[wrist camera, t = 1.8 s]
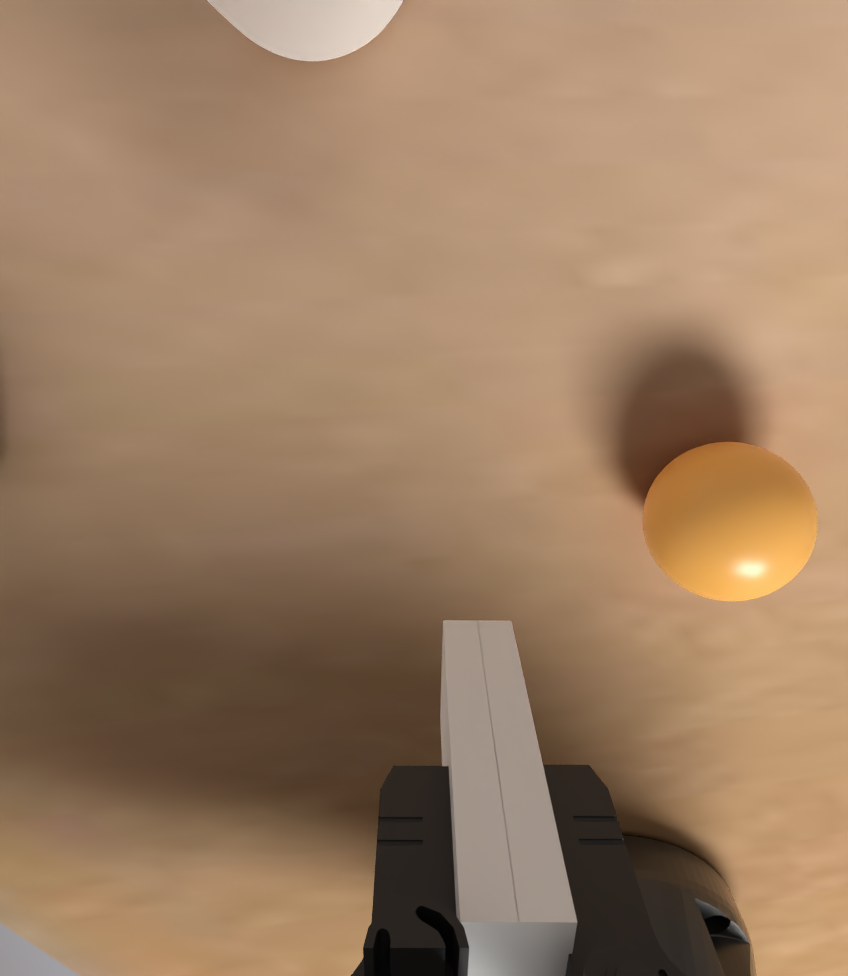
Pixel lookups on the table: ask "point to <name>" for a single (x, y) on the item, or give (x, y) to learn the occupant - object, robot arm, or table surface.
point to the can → (309, 24)
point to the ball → (730, 521)
